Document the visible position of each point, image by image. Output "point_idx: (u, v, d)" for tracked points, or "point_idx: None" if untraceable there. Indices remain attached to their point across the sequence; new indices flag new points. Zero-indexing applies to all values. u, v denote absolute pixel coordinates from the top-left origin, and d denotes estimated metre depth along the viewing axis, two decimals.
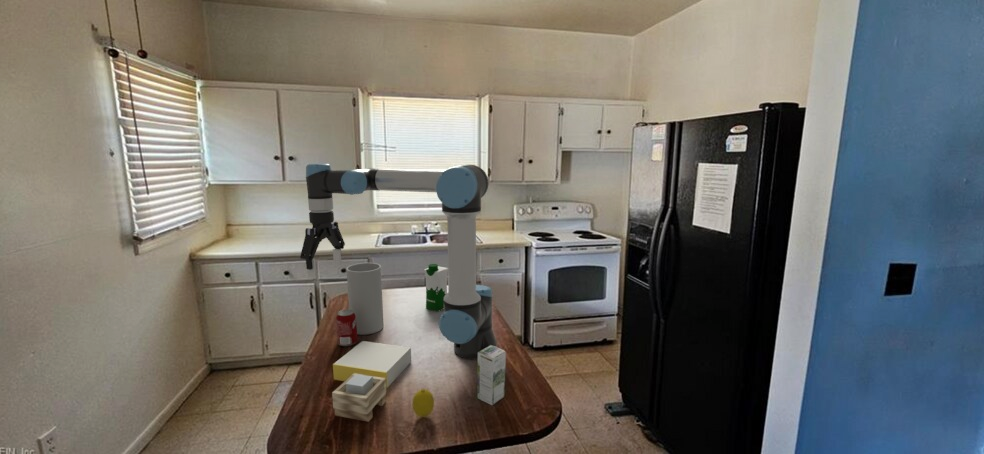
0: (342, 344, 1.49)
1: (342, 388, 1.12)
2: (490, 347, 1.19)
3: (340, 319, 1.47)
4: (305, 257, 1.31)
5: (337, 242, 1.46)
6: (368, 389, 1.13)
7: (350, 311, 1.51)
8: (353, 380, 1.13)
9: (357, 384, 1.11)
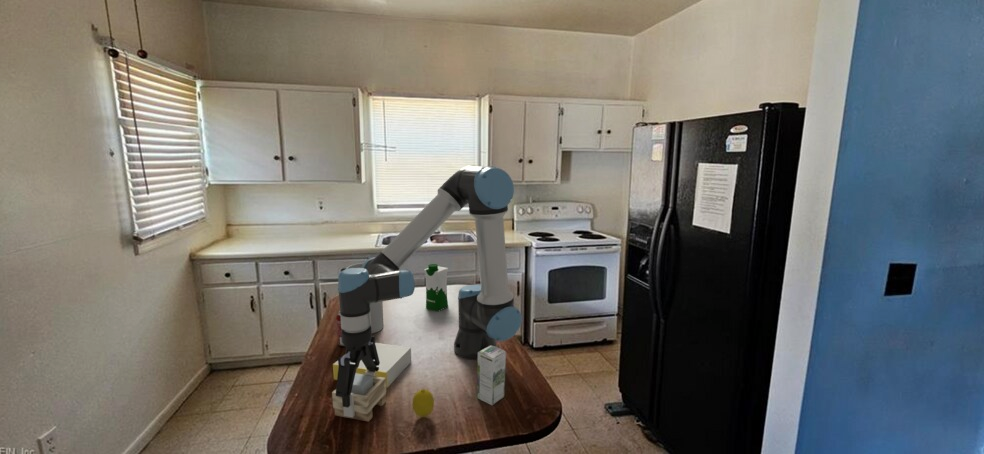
0: (342, 344, 1.49)
1: None
2: (490, 347, 1.19)
3: (340, 319, 1.47)
4: (342, 395, 1.04)
5: (372, 363, 1.16)
6: (368, 389, 1.13)
7: None
8: None
9: (357, 384, 1.10)
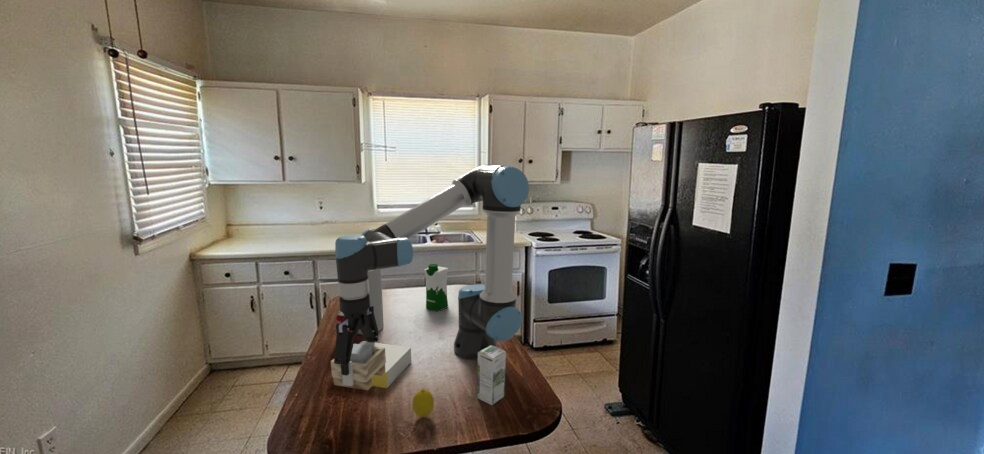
0: None
1: None
2: (490, 347, 1.19)
3: (340, 319, 1.47)
4: (340, 362, 1.03)
5: (371, 333, 1.15)
6: (367, 358, 1.11)
7: None
8: (352, 349, 1.11)
9: (356, 353, 1.09)
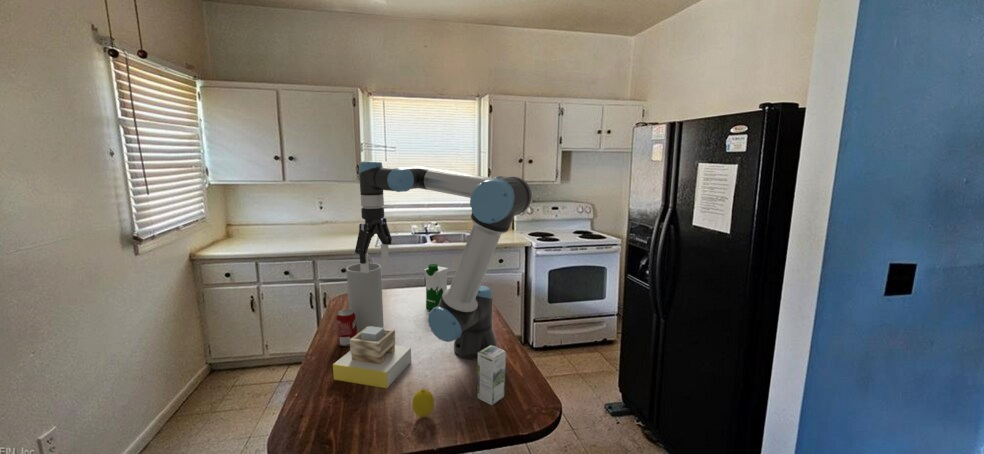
0: (342, 344, 1.49)
1: (358, 336, 1.31)
2: (490, 347, 1.19)
3: (340, 319, 1.47)
4: (360, 251, 1.36)
5: (385, 237, 1.50)
6: (380, 338, 1.31)
7: (350, 311, 1.51)
8: (367, 330, 1.31)
9: (371, 333, 1.29)
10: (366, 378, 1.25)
